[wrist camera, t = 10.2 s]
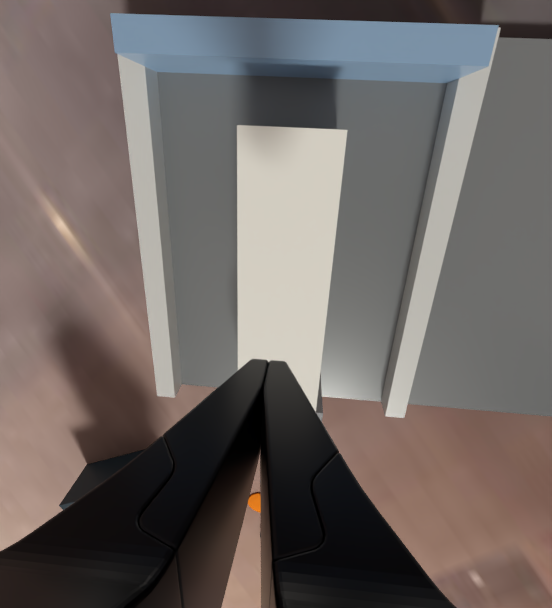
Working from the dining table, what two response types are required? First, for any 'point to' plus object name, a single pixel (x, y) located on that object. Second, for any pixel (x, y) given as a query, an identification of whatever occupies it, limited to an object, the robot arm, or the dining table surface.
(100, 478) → the bust statue
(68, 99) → the dining table surface
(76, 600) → the robot arm
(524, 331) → the grey rimmed tray
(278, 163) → the cream rectangular block
